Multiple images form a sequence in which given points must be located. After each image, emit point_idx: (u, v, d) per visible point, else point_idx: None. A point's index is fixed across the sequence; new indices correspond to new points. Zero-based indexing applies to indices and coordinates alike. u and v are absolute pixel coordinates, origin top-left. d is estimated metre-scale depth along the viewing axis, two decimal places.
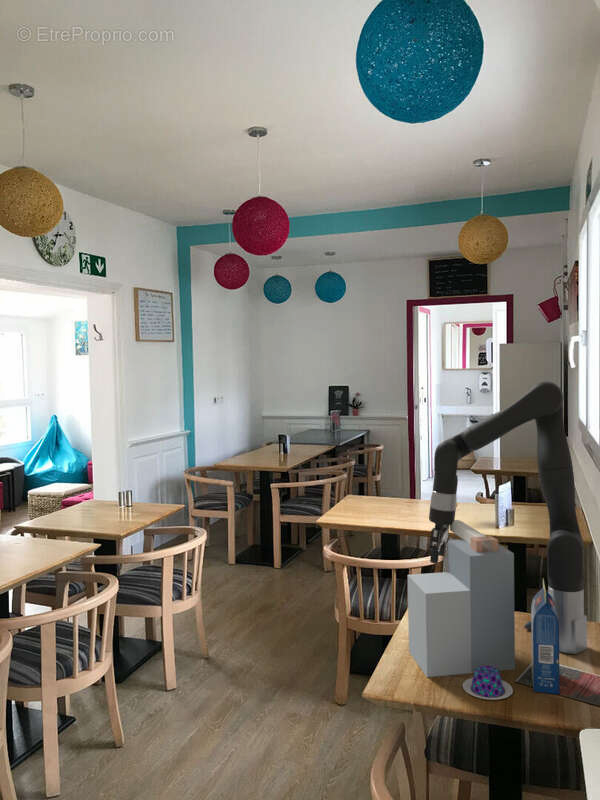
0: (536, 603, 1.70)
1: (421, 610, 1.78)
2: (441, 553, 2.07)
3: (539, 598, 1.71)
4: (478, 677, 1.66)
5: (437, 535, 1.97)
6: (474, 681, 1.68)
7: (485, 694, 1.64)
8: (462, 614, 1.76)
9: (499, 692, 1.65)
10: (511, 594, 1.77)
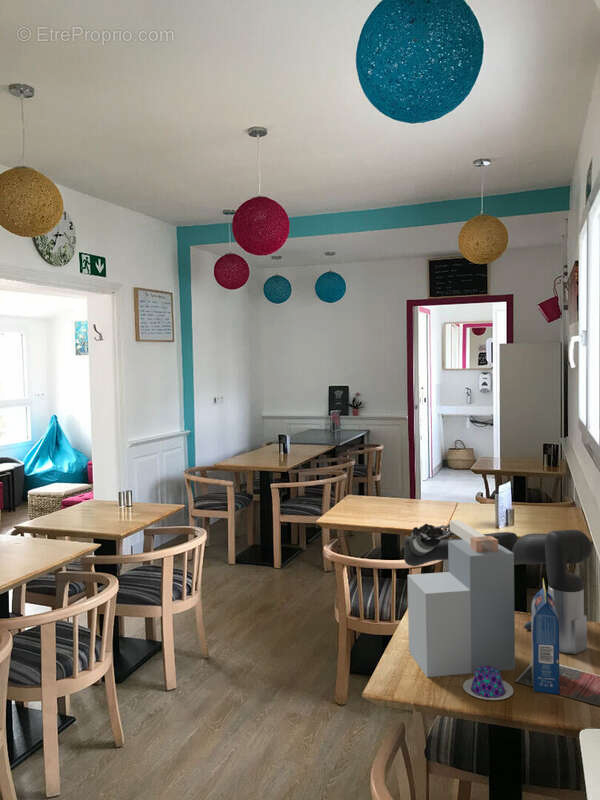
0: (536, 603, 1.70)
1: (421, 610, 1.78)
2: None
3: (539, 598, 1.71)
4: (478, 677, 1.66)
5: (411, 532, 2.21)
6: (474, 681, 1.68)
7: (485, 694, 1.64)
8: (462, 614, 1.76)
9: (499, 692, 1.65)
10: (511, 594, 1.77)
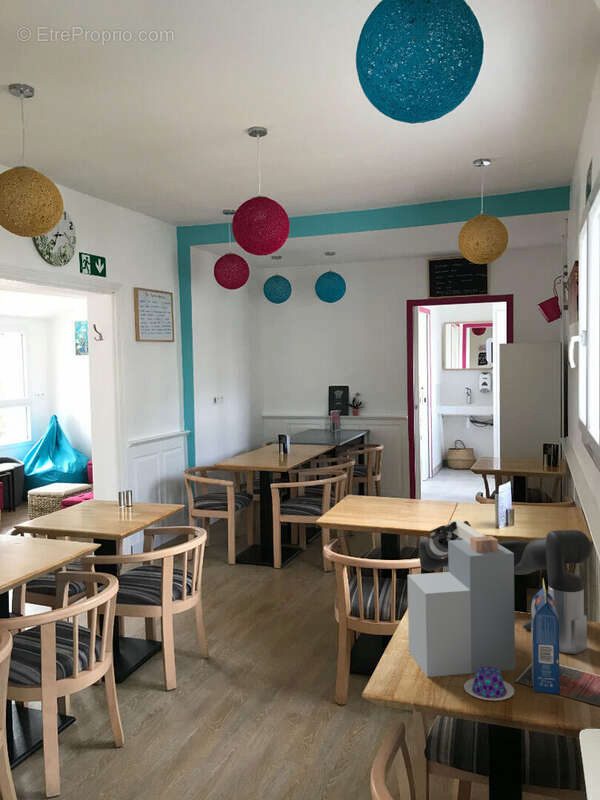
0: (536, 603, 1.70)
1: (421, 610, 1.78)
2: None
3: (539, 598, 1.71)
4: (479, 678, 1.66)
5: (432, 531, 2.04)
6: (475, 682, 1.67)
7: (487, 695, 1.64)
8: (462, 614, 1.76)
9: (501, 693, 1.65)
10: (511, 594, 1.77)
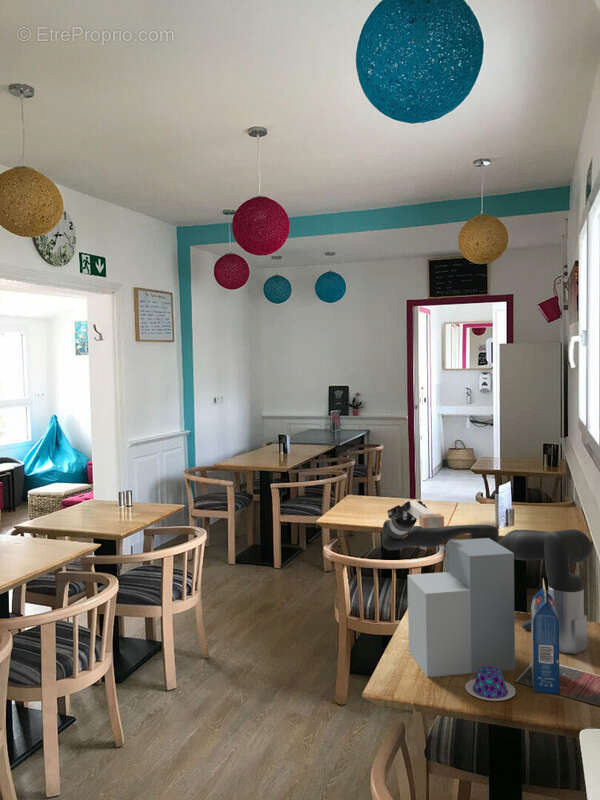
0: (536, 603, 1.70)
1: (421, 610, 1.78)
2: None
3: (539, 598, 1.71)
4: (481, 678, 1.66)
5: (389, 511, 2.16)
6: (477, 682, 1.67)
7: (488, 695, 1.64)
8: (462, 614, 1.76)
9: (502, 693, 1.65)
10: (511, 594, 1.77)
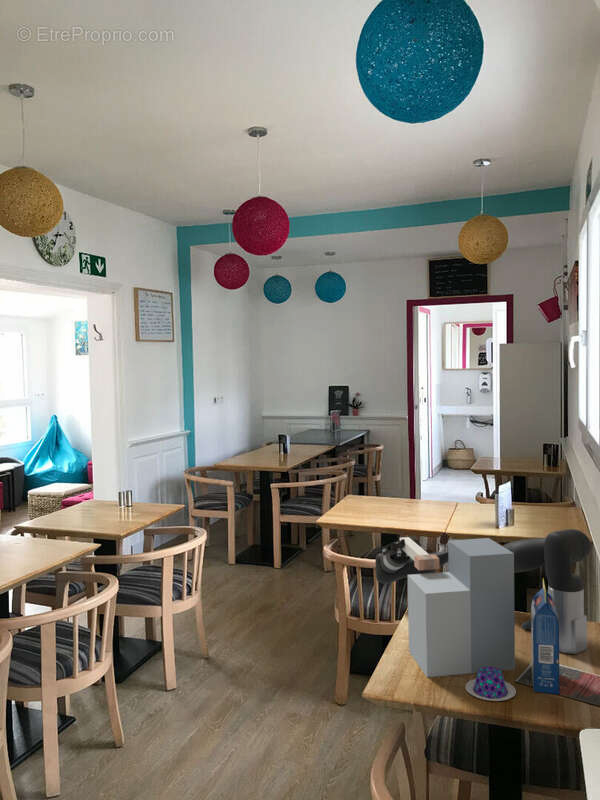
0: (536, 603, 1.70)
1: (421, 610, 1.78)
2: None
3: (539, 598, 1.71)
4: (481, 678, 1.66)
5: (383, 548, 2.15)
6: (477, 682, 1.67)
7: (488, 695, 1.64)
8: (462, 614, 1.76)
9: (502, 693, 1.64)
10: (511, 594, 1.77)
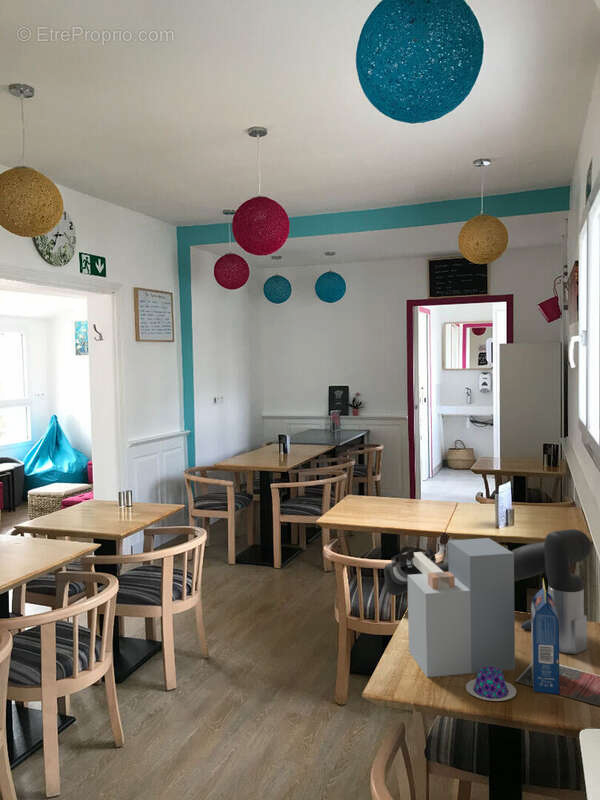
0: (536, 603, 1.70)
1: (421, 610, 1.78)
2: (428, 551, 1.97)
3: (539, 598, 1.71)
4: (481, 678, 1.66)
5: (392, 559, 2.03)
6: (477, 682, 1.67)
7: (488, 695, 1.64)
8: (462, 614, 1.76)
9: (502, 693, 1.64)
10: (511, 594, 1.77)
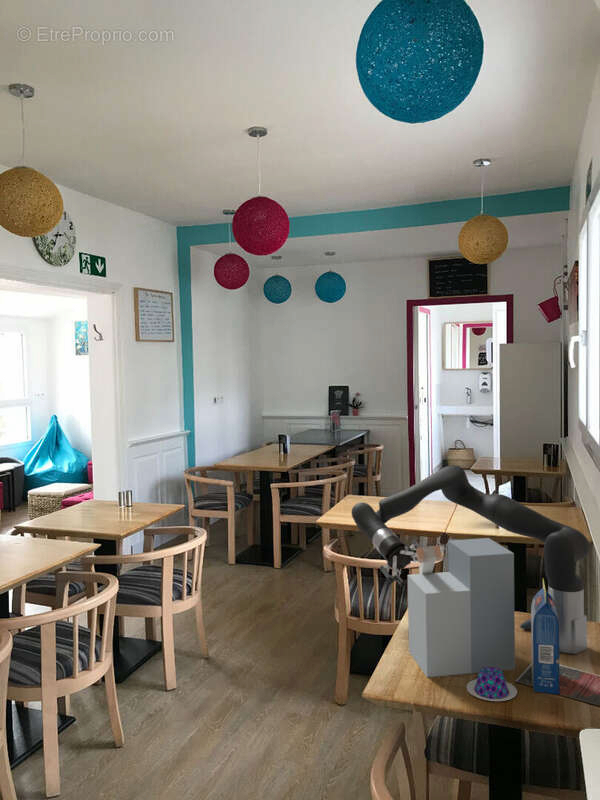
0: (536, 603, 1.70)
1: (421, 610, 1.78)
2: None
3: (539, 598, 1.71)
4: (482, 679, 1.65)
5: (381, 570, 2.04)
6: (478, 683, 1.67)
7: (489, 696, 1.64)
8: (462, 614, 1.76)
9: (503, 693, 1.64)
10: (511, 594, 1.77)
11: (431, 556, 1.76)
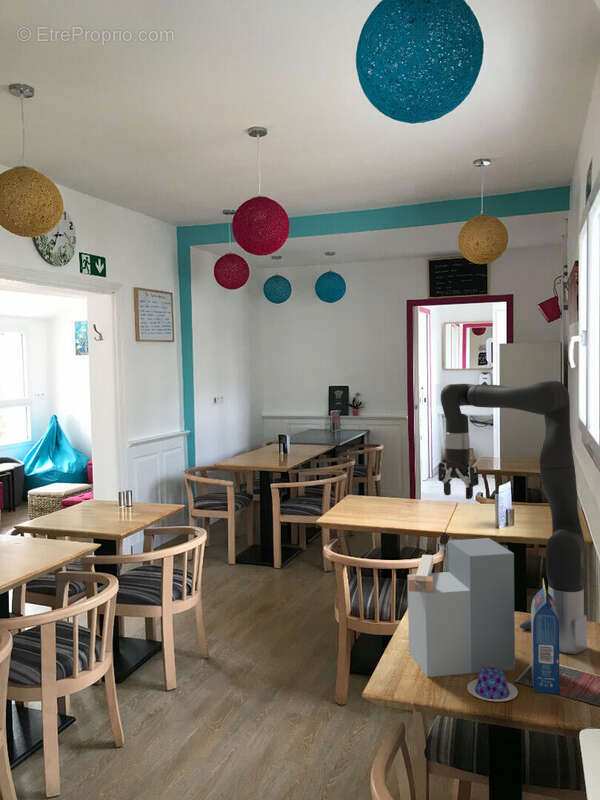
0: (536, 603, 1.70)
1: (421, 610, 1.78)
2: None
3: (539, 598, 1.71)
4: (483, 679, 1.65)
5: None
6: (479, 683, 1.67)
7: (490, 696, 1.63)
8: (462, 614, 1.76)
9: (504, 694, 1.64)
10: (511, 594, 1.77)
11: (421, 590, 1.75)
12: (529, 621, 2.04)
